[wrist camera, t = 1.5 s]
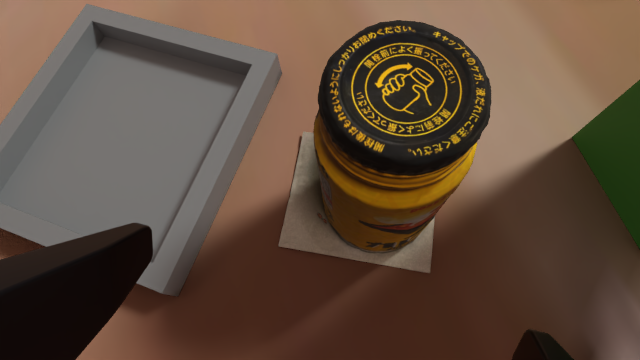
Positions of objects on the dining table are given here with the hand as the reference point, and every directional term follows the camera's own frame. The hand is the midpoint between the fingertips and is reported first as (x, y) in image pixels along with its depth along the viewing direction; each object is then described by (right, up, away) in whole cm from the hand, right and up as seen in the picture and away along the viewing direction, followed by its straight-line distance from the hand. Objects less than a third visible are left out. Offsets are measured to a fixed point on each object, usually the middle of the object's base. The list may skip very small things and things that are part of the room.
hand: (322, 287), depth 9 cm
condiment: (+2, +1, +14) cm, 14 cm away
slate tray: (-12, +5, +16) cm, 21 cm away
